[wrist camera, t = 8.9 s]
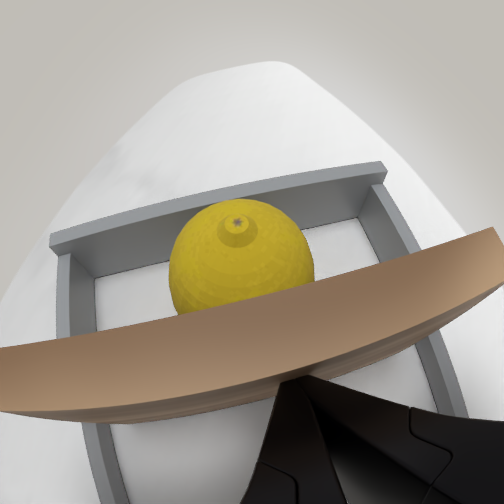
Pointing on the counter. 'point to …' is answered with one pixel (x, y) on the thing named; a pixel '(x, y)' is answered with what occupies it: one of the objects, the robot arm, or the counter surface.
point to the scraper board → (250, 341)
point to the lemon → (236, 255)
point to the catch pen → (161, 245)
